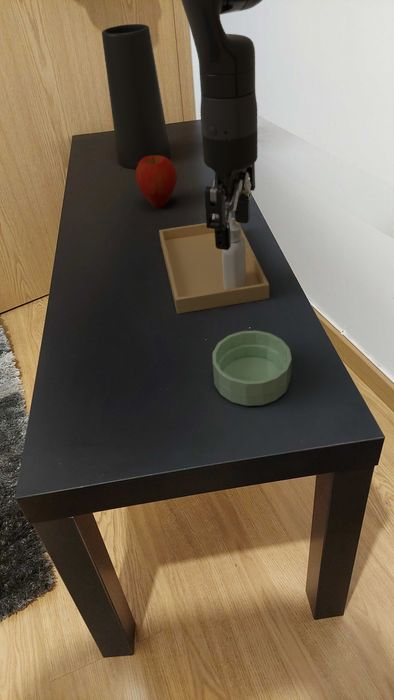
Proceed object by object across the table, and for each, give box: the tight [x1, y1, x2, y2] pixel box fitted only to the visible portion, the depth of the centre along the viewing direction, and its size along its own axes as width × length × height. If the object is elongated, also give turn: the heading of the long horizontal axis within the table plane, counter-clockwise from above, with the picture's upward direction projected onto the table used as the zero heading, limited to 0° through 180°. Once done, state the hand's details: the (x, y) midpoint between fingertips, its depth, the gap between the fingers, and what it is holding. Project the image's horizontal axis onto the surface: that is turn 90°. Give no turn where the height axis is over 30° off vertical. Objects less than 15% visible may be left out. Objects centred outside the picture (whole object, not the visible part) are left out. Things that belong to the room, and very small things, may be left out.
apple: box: [135, 155, 178, 209], centre depth 107 cm, size 9×8×11 cm
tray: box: [158, 220, 270, 315], centre depth 90 cm, size 23×15×3 cm, turn 10°
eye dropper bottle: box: [222, 217, 246, 290], centre depth 81 cm, size 4×6×12 cm
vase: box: [101, 23, 172, 170], centre depth 122 cm, size 14×14×29 cm
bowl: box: [212, 330, 293, 407], centre depth 68 cm, size 10×10×4 cm
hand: (233, 234), depth 79 cm, fingers open, 8 cm apart
